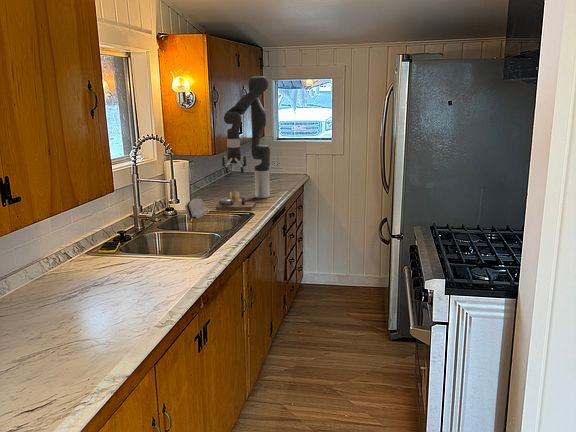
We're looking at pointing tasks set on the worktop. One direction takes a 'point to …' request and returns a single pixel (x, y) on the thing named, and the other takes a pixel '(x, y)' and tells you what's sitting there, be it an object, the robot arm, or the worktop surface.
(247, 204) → the carrier
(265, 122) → the robot arm
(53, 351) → the worktop surface
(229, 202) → the sun gear
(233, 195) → the planet gear
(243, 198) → the carrier pin
